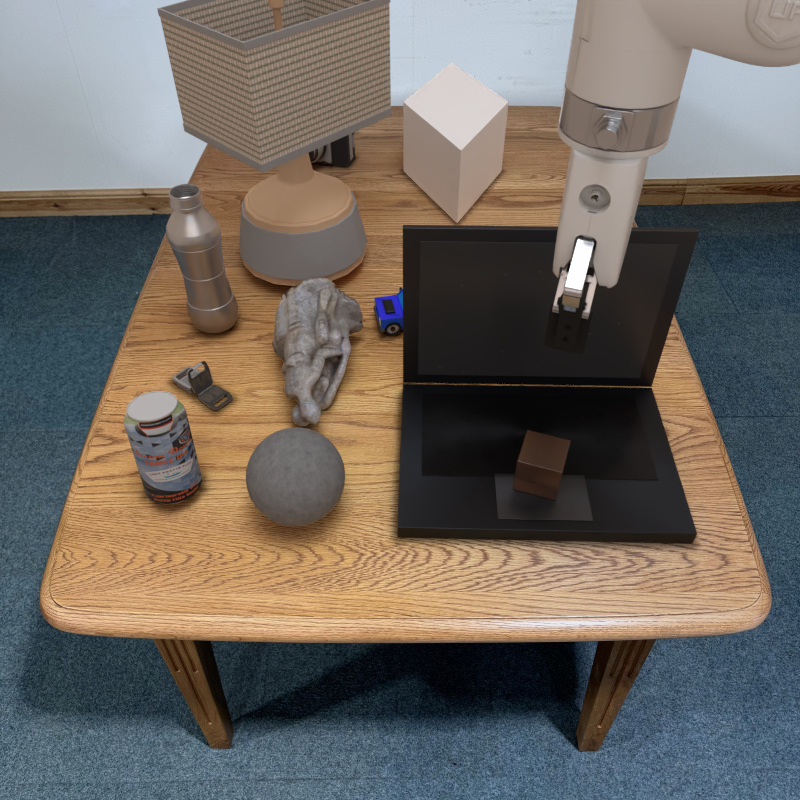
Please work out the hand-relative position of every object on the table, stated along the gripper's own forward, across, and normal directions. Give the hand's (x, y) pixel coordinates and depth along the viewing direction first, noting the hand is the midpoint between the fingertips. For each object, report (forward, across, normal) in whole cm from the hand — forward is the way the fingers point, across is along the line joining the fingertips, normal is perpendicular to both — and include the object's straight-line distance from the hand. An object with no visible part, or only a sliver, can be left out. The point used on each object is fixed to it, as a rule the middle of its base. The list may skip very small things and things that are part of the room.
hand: (574, 313), depth 61 cm
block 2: (+22, 0, 0) cm, 22 cm away
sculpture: (+24, +8, +29) cm, 39 cm away
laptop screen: (+12, +14, +5) cm, 19 cm away
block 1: (+24, +66, +29) cm, 76 cm away
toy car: (+24, +24, +21) cm, 40 cm away
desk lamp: (+24, +32, +42) cm, 58 cm away
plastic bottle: (+24, +14, +47) cm, 55 cm away
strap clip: (+24, +2, +42) cm, 49 cm away
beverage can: (+24, -12, +37) cm, 46 cm away
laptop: (+24, +4, +1) cm, 25 cm away
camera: (+24, +60, +54) cm, 85 cm away
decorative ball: (+24, -10, +23) cm, 35 cm away
